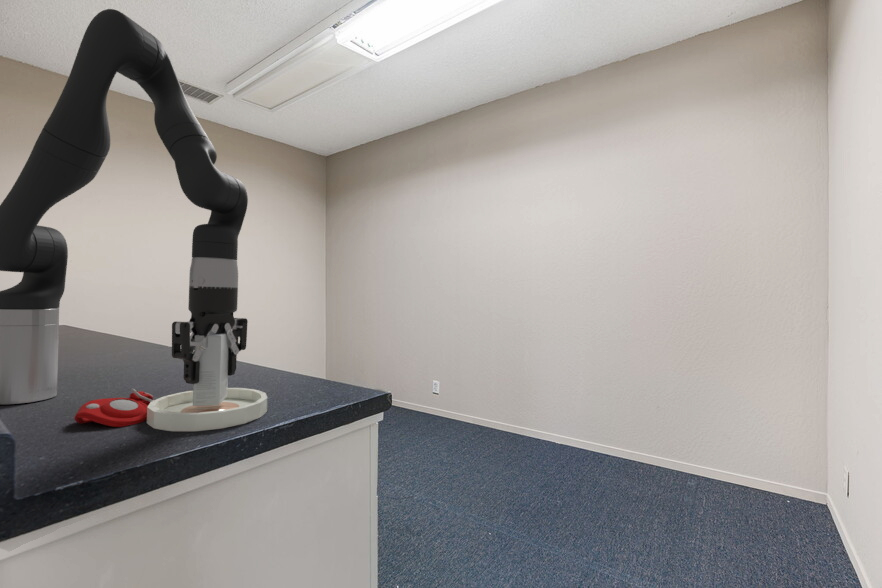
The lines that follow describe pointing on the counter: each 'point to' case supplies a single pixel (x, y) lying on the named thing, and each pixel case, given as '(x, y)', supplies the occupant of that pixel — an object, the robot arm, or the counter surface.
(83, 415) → the tracker holder
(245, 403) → the round dish
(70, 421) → the counter surface
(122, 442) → the counter surface
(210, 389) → the skincare box
